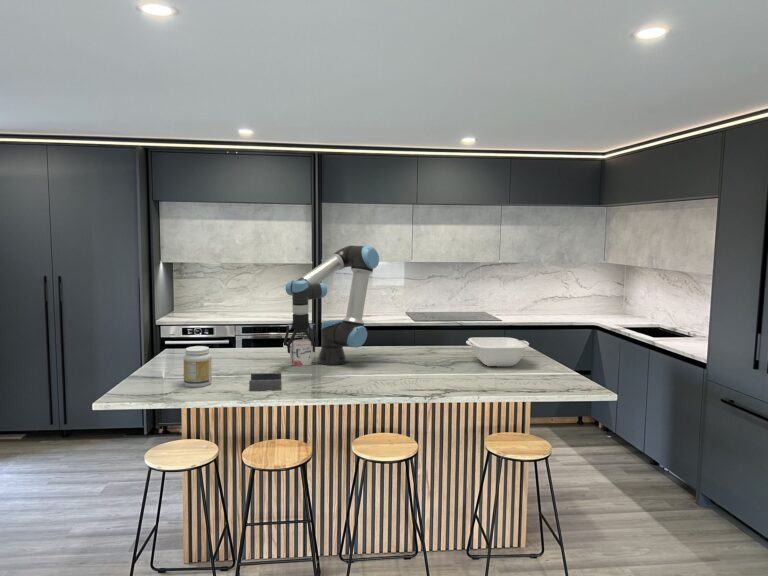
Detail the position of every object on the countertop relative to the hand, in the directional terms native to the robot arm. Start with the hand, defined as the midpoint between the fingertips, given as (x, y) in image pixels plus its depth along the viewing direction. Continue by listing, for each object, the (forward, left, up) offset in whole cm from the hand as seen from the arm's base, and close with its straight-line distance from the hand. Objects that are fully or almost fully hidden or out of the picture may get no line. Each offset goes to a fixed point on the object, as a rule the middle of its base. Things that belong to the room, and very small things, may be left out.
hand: (301, 359), depth 276 cm
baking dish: (-107, -21, -10) cm, 110 cm away
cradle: (+16, +11, -10) cm, 22 cm away
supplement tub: (+47, +4, -10) cm, 49 cm away
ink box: (0, 0, -3) cm, 3 cm away
